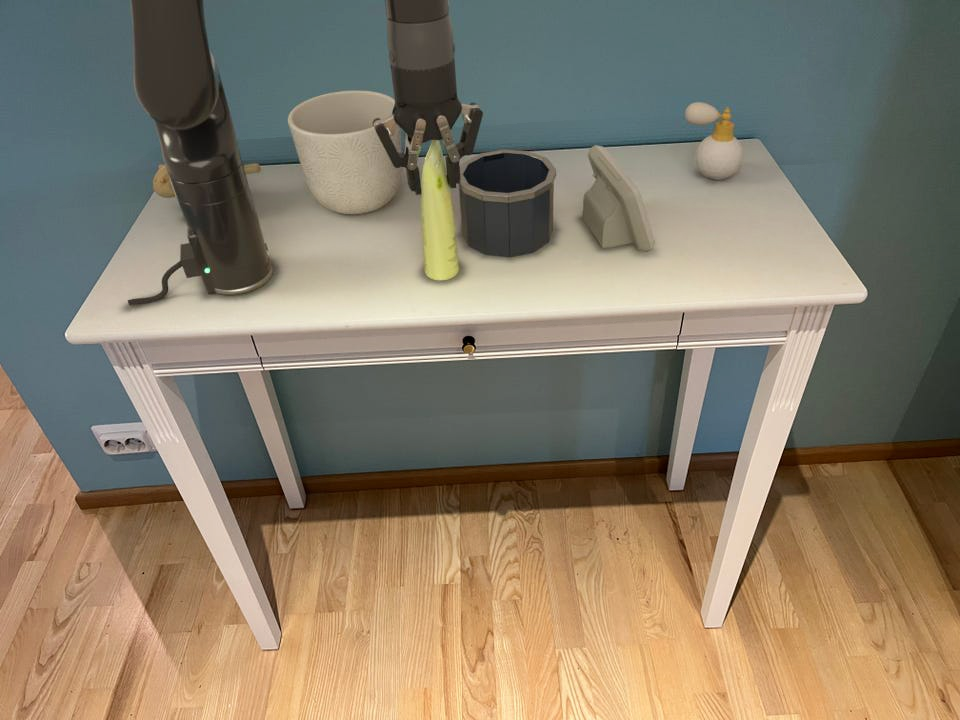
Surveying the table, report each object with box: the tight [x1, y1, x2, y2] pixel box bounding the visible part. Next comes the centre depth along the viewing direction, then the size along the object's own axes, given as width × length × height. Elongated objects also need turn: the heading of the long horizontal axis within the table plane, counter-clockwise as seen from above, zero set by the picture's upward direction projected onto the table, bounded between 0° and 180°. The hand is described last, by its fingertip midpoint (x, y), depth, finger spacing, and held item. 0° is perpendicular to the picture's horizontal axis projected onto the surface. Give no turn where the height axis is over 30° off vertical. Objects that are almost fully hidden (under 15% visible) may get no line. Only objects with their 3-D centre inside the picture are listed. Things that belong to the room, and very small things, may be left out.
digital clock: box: [581, 144, 655, 252], centre depth 108 cm, size 16×9×11 cm, turn 2°
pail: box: [457, 149, 557, 258], centre depth 109 cm, size 14×14×10 cm
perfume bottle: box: [684, 101, 744, 181], centre depth 118 cm, size 8×10×12 cm
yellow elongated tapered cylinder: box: [420, 140, 460, 281], centre depth 98 cm, size 6×5×20 cm
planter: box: [287, 90, 403, 215], centre depth 116 cm, size 17×17×15 cm
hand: (434, 188), depth 96 cm, fingers closed on yellow elongated tapered cylinder, 4 cm apart
